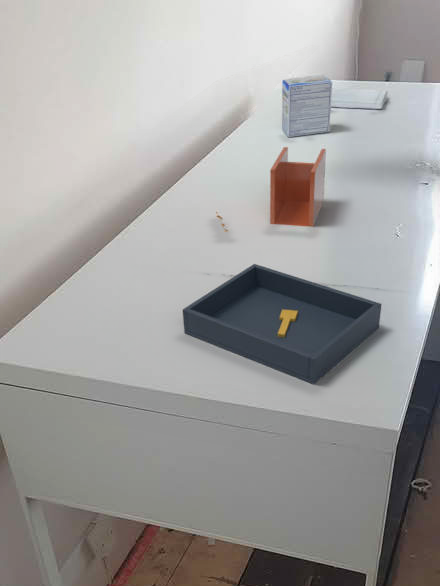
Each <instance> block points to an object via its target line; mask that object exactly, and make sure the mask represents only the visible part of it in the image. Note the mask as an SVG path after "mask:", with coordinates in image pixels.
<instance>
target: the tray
mask: <svg viewBox="0 0 440 586" xmlns="http://www.w3.org/2000/svg"><path fill="white" fill-rule="evenodd" d="M282 310H294V311H298V315H297V317H296V320H295V322H293V321H290V324H289V327H288V330H287V332H286V335H285V337H278V331H279V329H280V326H281V324H282V321H283V320H279V317H280V314H281V312H282ZM381 312H382V303H380V302H377V301H373V300H370V299H367V298H364V297H362V296H358V295H355V294H351V293H349V292H345V291H342V290H339V289H335V288H334V287H333V288H332V287H329V286H326V285H323V284H320V283H316V282H314V281H311V280H307V279H304V278H301V277H298V276H295V275H291V274H289V273H286V272H281V271H279V270H275V269H272V268H270V267H266V266H262V265H259V264H256V263H253V264H252V265H250V266H248V267H246V268H245V269H244V270H242V271H240V272H239V273H238V274H236V275H234V276H233V277H231V278H230V279H228V280H226V281H225V282H224V283H221V284H220V285H219V286H217V287H215V288H214V289H213V290H211V291H209V292H207V293H206V294H205V295H203V296H201V297H200V298H198V299H197V300H195V301H193V302H191V304H189V305H187V306H185V307H184V308H182V318H183V319H182V320H183V332H184V334H186V335H189V336H191V337H193V338H195V339H199V340H201V341H204V342H206V343H209V344H211V345H214V346H217V347H219V348H222V349H224V350H227V351H229V352H231V353H234V354H236V355H239V356H241V357H244V358H247V359H248V360H251V361H254V362H256V363H258V364H261V365H264V366H266V367H269V368H272V369H274V370H276V371H279V372H281V373H283V374H284V373H285V374H286V375H289V376H292V377H295V378H297V379H300V380H301V381H304V382H307V383H309V384H312V385H315V384H316V383H317V382H318V381H319V380H321V378H322V377H324V376H325V375H326V374H327V373H328V372H329V371H331V370H332V369H333V368H334V367H335V366H336V365H338V364H339V363H340V362H341V361H342V360H343V359H345V358H346V357H347V356H348V355H350V353H351V352H353V351H354V350H355V349H356V348H357V347H358V346H360V345H361V344H362V343H363V342H365V341H366V339H368V338H369V337H370V336H371V335H372V334H373V333H375V332H376V331H377V330H378V329H379V328H380V321H381Z"/></svg>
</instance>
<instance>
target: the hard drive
mask: <svg viewBox="0 0 440 586" xmlns="http://www.w3.org/2000/svg"><path fill="white" fill-rule="evenodd" d="M388 92H389V91H388V90H377V89H361V88H360V89H357V88H338V87H337V88H336V87H335V88H334V87H332V94H331V108H344V109H348V108H349V109H365V110H367V109H369V110H370V109H371V110H382V109H383V107H384V104H385V103H386V101H387V99H388Z"/></svg>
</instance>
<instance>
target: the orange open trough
mask: <svg viewBox="0 0 440 586" xmlns="http://www.w3.org/2000/svg"><path fill="white" fill-rule="evenodd" d="M326 154H327V149H326V148H321V150H320V152H319V153H318V156H317V158H316V160H315V162H300V161H289V147H288V146H284V147H283V148H282V150H281V151H280V153H279V154H278V156H277V158H276V159H275V161H274V163H273V164H272V167H271V168H270V171H269V172H270V173H269V175H270V177H269V178H270V179H269V180H270V181H269V182H270V183H269V184H270V185H269V186H270V187H269V188H270V189H269V194H270V195H269V198H270V200H269V223H270V225H282V226H294V227H295V226H296V227H309V228H313V227H314V225H315V223H316V220H317V217H318V215H319V213H320V210H321V209H322V206H323V203H324V194H325V178H326V177H325V175H326V158H327V157H326Z"/></svg>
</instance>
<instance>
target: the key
mask: <svg viewBox="0 0 440 586" xmlns="http://www.w3.org/2000/svg"><path fill="white" fill-rule="evenodd" d="M297 315H298V311H294V310H282V312H281V314H280V317H279V320H283V321H282V324H281V326H280V329H279V331H278V337H285V335H286V332H287V330H288V327H289V324H290V321H293V322H295V320H296V317H297Z"/></svg>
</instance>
